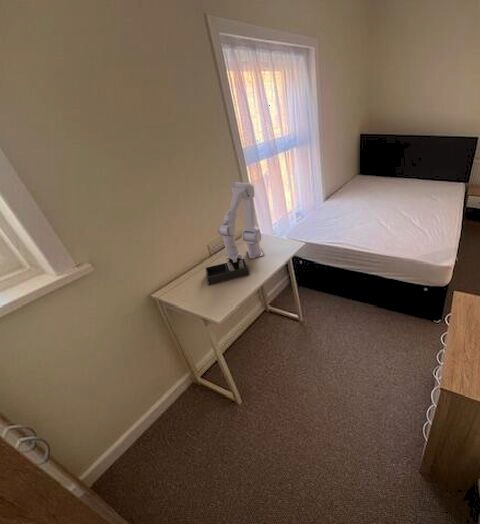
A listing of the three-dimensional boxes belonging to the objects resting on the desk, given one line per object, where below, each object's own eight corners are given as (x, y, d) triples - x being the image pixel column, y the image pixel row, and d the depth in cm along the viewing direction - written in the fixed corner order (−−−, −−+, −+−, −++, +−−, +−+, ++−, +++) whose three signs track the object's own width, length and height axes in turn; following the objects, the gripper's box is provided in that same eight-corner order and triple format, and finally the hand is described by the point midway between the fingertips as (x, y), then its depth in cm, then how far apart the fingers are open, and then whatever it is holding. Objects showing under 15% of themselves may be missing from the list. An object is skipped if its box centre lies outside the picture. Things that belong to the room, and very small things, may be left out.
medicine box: (230, 275, 153) (227, 261, 148) (229, 271, 157) (225, 258, 152) (245, 271, 156) (242, 258, 151) (243, 267, 160) (240, 254, 155)
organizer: (207, 274, 156) (205, 267, 153) (245, 265, 163) (243, 258, 160) (209, 285, 148) (206, 277, 145) (248, 274, 155) (247, 267, 152)
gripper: (221, 241, 152) (226, 262, 159) (224, 253, 140) (230, 275, 148) (234, 238, 154) (239, 259, 161) (238, 250, 143) (244, 272, 150)
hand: (236, 266), depth 155 cm, fingers closed on medicine box, 4 cm apart
